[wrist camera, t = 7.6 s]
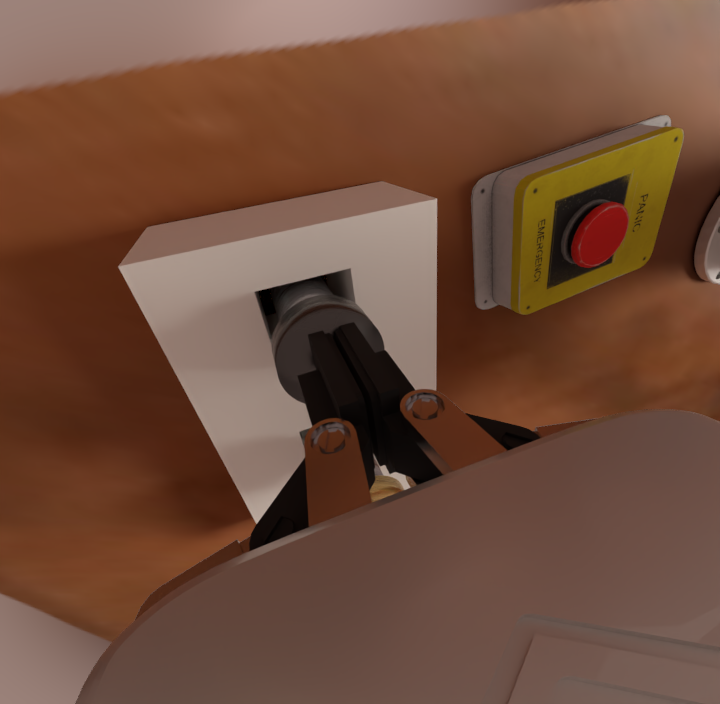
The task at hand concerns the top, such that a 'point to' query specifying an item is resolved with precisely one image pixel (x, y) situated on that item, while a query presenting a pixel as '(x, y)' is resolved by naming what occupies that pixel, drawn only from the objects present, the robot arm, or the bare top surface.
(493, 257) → the emergency button
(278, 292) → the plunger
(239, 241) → the block
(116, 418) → the top surface
